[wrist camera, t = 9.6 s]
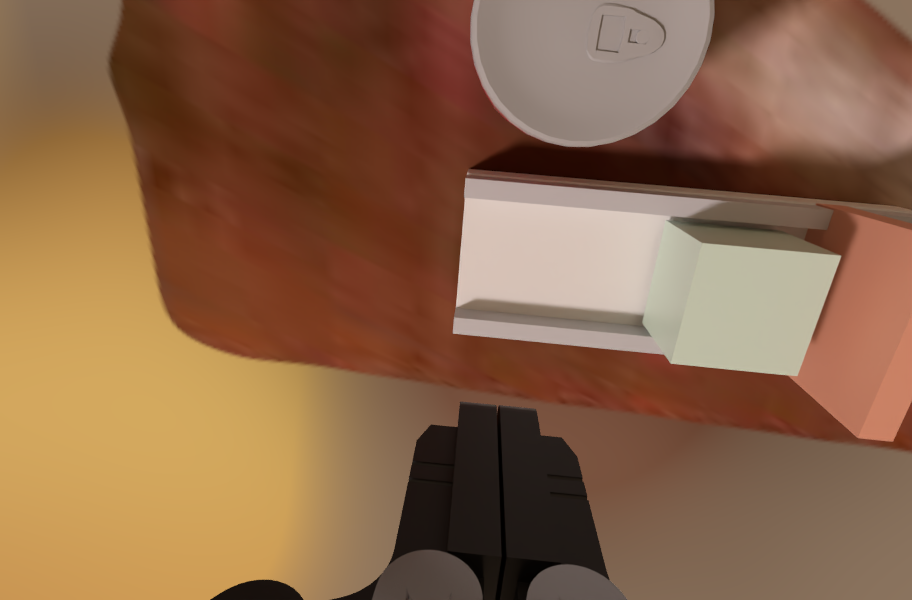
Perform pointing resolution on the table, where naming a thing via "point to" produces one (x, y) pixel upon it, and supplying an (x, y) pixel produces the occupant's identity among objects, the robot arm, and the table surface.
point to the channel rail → (633, 262)
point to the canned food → (587, 63)
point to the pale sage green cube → (737, 297)
